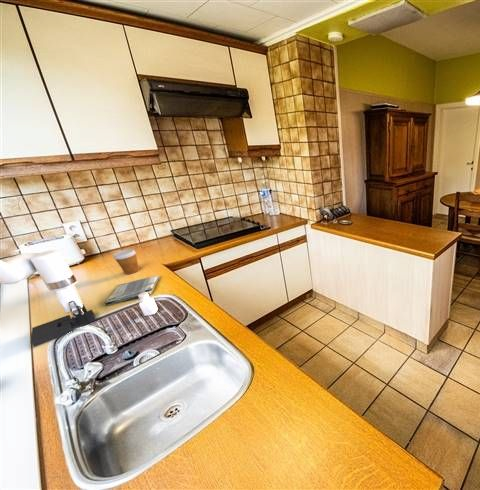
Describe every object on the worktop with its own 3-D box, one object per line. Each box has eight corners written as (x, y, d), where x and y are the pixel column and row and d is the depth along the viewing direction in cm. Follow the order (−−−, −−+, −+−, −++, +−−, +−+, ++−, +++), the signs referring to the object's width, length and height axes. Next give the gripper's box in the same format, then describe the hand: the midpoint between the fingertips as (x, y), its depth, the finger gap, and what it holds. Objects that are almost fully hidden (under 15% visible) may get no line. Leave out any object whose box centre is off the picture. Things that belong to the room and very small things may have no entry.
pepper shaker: (143, 316, 110) (134, 297, 106) (148, 311, 114) (139, 292, 110) (154, 314, 111) (146, 295, 107) (159, 309, 114) (150, 290, 111)
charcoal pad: (74, 333, 102) (70, 327, 101) (35, 348, 96) (30, 342, 94) (72, 320, 110) (69, 314, 109) (36, 333, 103) (32, 327, 102)
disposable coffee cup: (140, 266, 155) (132, 247, 150) (145, 270, 149) (136, 251, 144) (119, 272, 148) (110, 253, 143) (123, 277, 142) (114, 257, 138)
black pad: (96, 321, 109) (93, 315, 108) (65, 333, 103) (61, 327, 101) (95, 315, 112) (91, 309, 111) (64, 326, 106) (61, 320, 105)
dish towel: (118, 287, 133) (115, 282, 132) (160, 278, 140) (158, 272, 139) (103, 307, 118) (100, 301, 116) (152, 295, 124) (150, 290, 123)
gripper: (47, 279, 104) (69, 314, 111) (46, 294, 93) (70, 332, 100) (74, 271, 109) (93, 305, 116) (76, 285, 98) (97, 322, 105)
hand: (83, 318), depth 108 cm, fingers open, 9 cm apart
